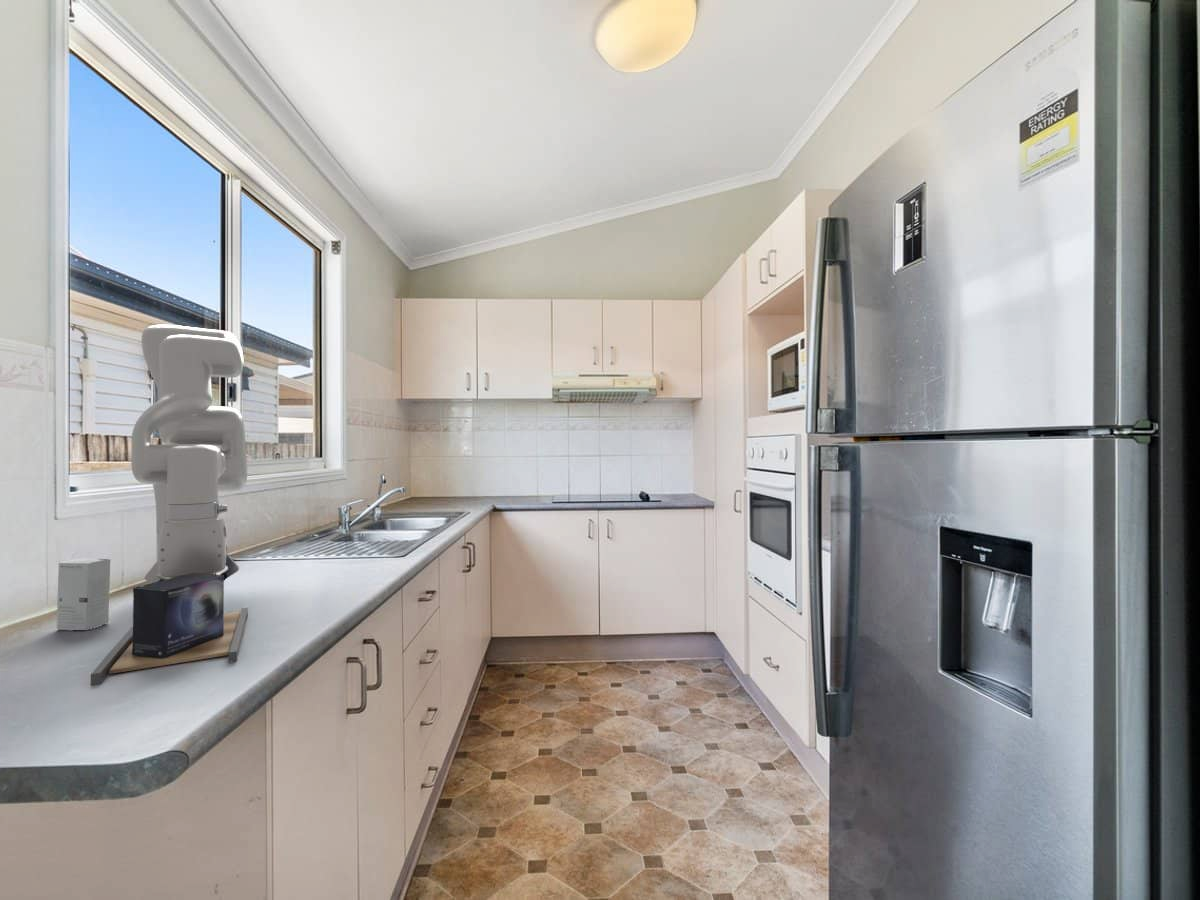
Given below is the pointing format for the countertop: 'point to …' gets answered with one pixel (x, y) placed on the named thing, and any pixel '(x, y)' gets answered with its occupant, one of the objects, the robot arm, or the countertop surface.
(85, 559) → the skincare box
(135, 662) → the thin plywood board
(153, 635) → the small box
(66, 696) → the countertop surface
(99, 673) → the guide rails
